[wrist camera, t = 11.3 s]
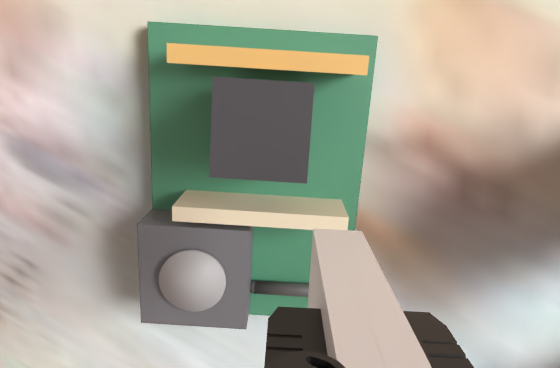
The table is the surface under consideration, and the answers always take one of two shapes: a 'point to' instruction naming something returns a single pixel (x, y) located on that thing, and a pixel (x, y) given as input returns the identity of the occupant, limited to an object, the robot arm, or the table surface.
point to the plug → (260, 129)
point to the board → (236, 192)
